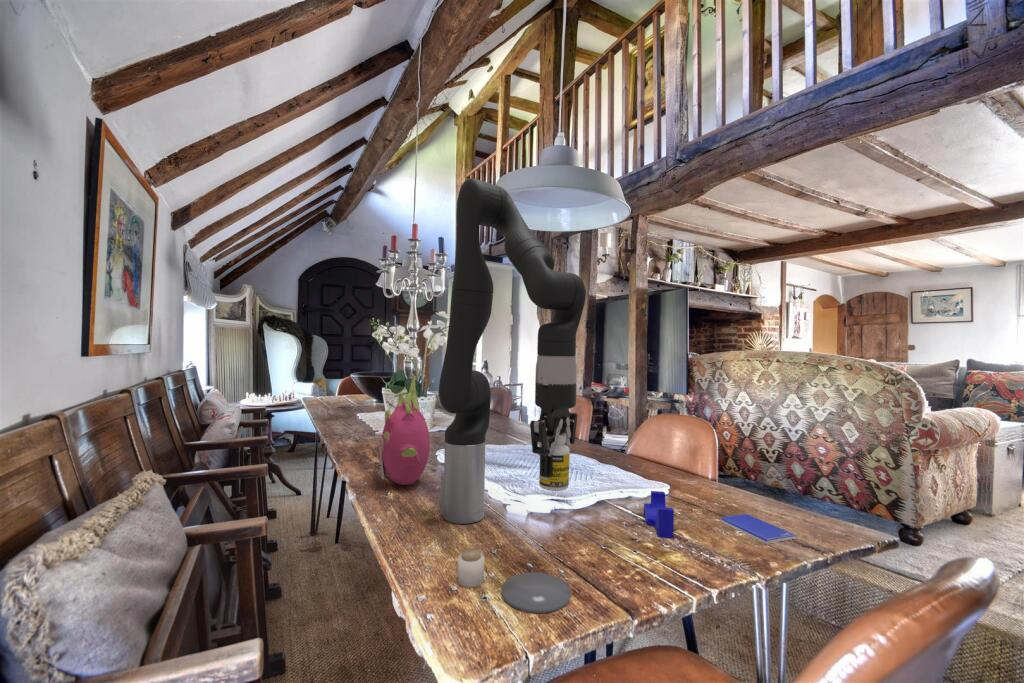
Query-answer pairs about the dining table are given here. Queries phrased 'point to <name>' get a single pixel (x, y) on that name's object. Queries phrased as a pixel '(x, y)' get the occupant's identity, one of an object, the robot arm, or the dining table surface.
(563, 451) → the supplement bottle
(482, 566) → the salt cellar
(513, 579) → the slate coaster
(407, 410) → the pink dragon fruit
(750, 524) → the hard drive
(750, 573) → the dining table surface
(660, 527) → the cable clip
